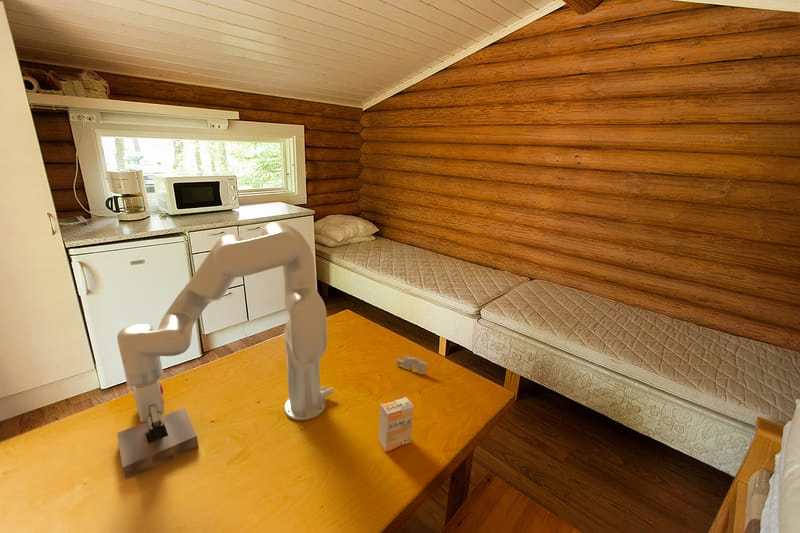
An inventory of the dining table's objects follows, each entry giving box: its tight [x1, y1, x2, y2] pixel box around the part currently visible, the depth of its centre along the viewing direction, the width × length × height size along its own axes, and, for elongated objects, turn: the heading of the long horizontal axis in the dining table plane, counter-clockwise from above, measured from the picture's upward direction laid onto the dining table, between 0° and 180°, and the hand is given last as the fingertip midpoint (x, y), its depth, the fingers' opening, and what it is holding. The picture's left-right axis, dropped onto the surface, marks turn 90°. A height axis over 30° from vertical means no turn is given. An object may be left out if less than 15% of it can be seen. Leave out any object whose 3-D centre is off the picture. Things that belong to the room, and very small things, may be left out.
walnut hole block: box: [116, 407, 200, 481], centre depth 96 cm, size 16×14×4 cm
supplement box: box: [378, 396, 414, 453], centre depth 100 cm, size 8×5×13 cm, turn 117°
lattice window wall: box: [396, 355, 428, 374], centre depth 135 cm, size 12×2×6 cm, turn 63°
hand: (155, 427), depth 95 cm, fingers open, 9 cm apart
